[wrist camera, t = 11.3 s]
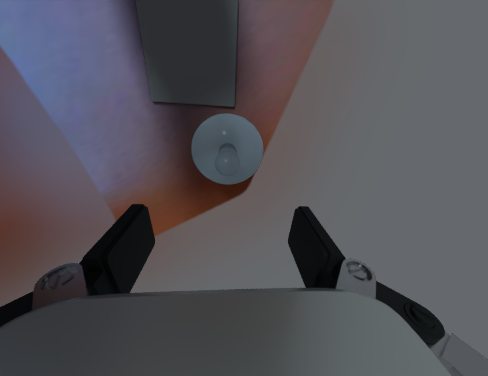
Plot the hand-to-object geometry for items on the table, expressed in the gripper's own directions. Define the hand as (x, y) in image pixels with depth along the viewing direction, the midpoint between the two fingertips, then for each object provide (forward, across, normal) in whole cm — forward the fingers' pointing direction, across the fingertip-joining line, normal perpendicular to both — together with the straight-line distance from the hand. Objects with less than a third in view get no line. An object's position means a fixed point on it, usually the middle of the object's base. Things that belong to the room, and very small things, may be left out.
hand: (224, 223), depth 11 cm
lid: (+18, 0, 0) cm, 18 cm away
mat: (+30, +7, -14) cm, 34 cm away
